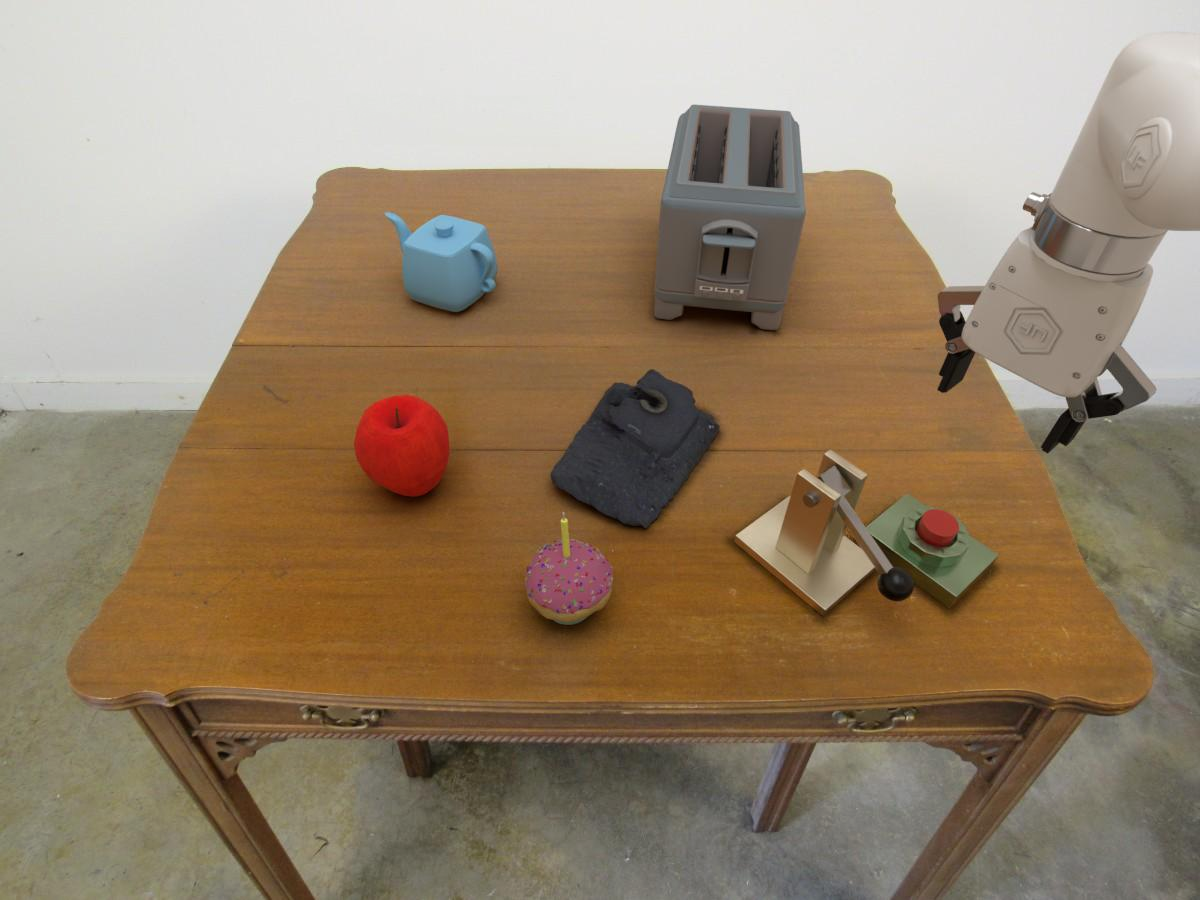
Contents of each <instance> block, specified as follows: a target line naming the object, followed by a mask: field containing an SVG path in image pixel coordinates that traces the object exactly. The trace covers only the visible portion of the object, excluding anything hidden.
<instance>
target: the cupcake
mask: <svg viewBox="0 0 1200 900" xmlns="http://www.w3.org/2000/svg"><path fill="white" fill-rule="evenodd" d="M561 514H562V515H561V516H562V518H561V519H560V530H561V531H560V532H561V539H556V540H554V541H551V542H550V543H549V542H547V543H545V545H543V546H541V548H540V549H537V551H536V553H535V554H534V556H533V557H532V559H530V562H529V564H528V566H526V571H525V573H526V574H525V577H524V587H525V591H526V595H527V599H528V602H529V603H530V605H531V606H532V607H533V608H534V609H535V610H536V611H537V612H538V613H539V614H540V615H541V616H542V617H543V618H545V619H548V620H552V621H554V622H555V623H557V624H560V625H565V626H570V625H571V626H573V625H576V624H579V623H581V622H583V621H584V620H585V619H588V617H589V616H590V615H593V614H594V613H595V612H598V611H600V610H603V608H604V607H605V606H606V605H607V604H608V601H609V600H610V598H611V594H612V592H613V580H614V577H613V566H612V565H611V563H610V562H609V560H608V559H607V558H606V556H605V555H604V554H603V553H602V552H601V551H600V549H599V548H598V547H595V546H593V545H591V544H589V543H588V542H584V541H581V540H578V539H573V538H571V539H570V535H569V534H570V533H569V520H568V519H567V518H566V515H565V512H564V511H562V512H561Z"/></svg>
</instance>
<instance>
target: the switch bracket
mask: <svg viewBox="0 0 1200 900" xmlns="http://www.w3.org/2000/svg"><path fill="white" fill-rule="evenodd" d="M832 466H835V467H836V468H837V470H838V471H839V473H840V474H841V475H842V477H843V478H844V480H845V481H846V483H847V484H848V486H849V487H850V488H851V491H849V492H848V493H847V494H846V495H844V497H845V498H846V500H847V501H848V503H849V504H850V505H851V507H852V508H853V510H854V511H855V508H856V506H857V503H858V501H859V498H860V496H861V493H862V490H863V488H864V486H865V483H866V481H867V478H868V476H869V474H867V473H866V472H865V471H863V470H862V469H860V468H859V467H857V466H856V465H855V464H853V463H851V462H850V461H848V460H847V459H846V458H844V457H842V456H841V455H840V454H838V453H837V452H835V451H834V450H833V449H831V448H830V449H829V450H826V452H825V453H823V456H822V459H821V463H820V465H819V468H818V472H817V474H819V473H820V472H822V471H824V470H826V469H828V468H830V467H832ZM815 476H816V475H814V474H812V472H810V471H808V469H805V468H802V469H801V470H800V471H798V472H797V474H796V477H795V479H794V484H793V487H792V490H791V493H790V495H788V496H786V497H785V498H784V499H783V500H781V501H780V502H778V503H777V504H776V505H774V506H773V507H771V508H770V509H769V510H768V511H767V512H765V513H764V514H762V515H761V516H760V517H758V518H757V519H755V520H754V521H753V522H751V523H750V524H748V526H746V527H745V528H744V529H741V531H739V532H738V533H737V534H735V536H734V540H733V542H734V544H736V545H737V546H738V547H739V548H741V550H743V551H744V552H745V553H746V554H747V555H749V556H750V557H752V559H754V560H755V561H756V562H757V563H758V564H760V565H761V566H762V567H763V568H764V569H766V570H767V571H768V572H769V573H770V574H771V575H772V576H774V577H775V578H776V579H777V580H779V581H780V582H781V583H782V584H783V585H785V586H786V587H787V588H788V589H789V590H791V592H793V593H794V594H795V595H796V596H798V597H799V598H800V600H802V601H803V602H805V603H806V604H807V605H808V606H809V607H811V608H812V609H813V610H814V611H815V612H817V613H818V615H820V616H822V617H825V616H826V615H827V614H828V613H829V612H830V611H831V610H832V609H834V608H835V607H836V606H837V605H838V604H839V603H840V602H842V601H843V600H844V599H845V598H846V597H847V596H848V595H849V594H851V593H852V592H853V591H854V590H855V589H856V588H857V587H858V586H860V585H861V584H862V583H863V582H864V581H865V580H867V578H869V577H870V576H871V575H872V574H873V573H874V572H875V571H877V570H876V568H875V567H874V565H873V564H872V563H871V561H870V560H869V558H868V557H867V555H866V554H865V552H864V551H863V549H862V548H861V547H860V545H858V544H856V543H855V542H853V541H852V540H851V539H850V538H848V537H847V536H845V533H846V532H847V530H848V528H847V526H846V525H845V523H844V522H843V520H842V519H841V518H840V516H839V515H838V513H837V512H836V508H837V506H838V503H839V500H840V498H841V495H840V494H839V493H838V492H836V491H835V490H833V489H832V488H831V487H829V486H828V485H826V484H825V483H824V482H822V481H821V480H819V479H818V478H817V477H815Z"/></svg>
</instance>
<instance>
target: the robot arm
mask: <svg viewBox="0 0 1200 900" xmlns="http://www.w3.org/2000/svg"><path fill="white" fill-rule="evenodd" d="M1022 210H1023V211H1025V212H1028V213H1030V215H1031V216H1033V217H1034V218H1033V221H1034V222H1033V224H1032V226H1030V227H1029V228H1026V229H1024V230H1022V231H1020V232H1019V233H1018V234H1017V236H1016V237H1015V239H1014V240H1013V241H1012V242H1011V243H1010V245H1009V246H1008V248H1007V249H1006V250H1005V252H1004V254H1003V256H1002V257H1001V259H1000V260H999V262H998V263H997V265H996V267H995V268H994V269H993V271H992V273H991V275H990V276H989V278H988V279H987V282H986V283H985V285H962V286H961V285H954V286H953V285H951V286H947V287H945V288H944V289H943V290H940V291H939V292H938V293H937V304H938V312H939V314H940V317H939V320H938V323H939V326H940V328H941V332H942V333H943V335H944V338H945V340H946V343H945V344H944V347H945V350H946V352H947V353H946V357H945V358H944V361H943V363H942V365H941V367H940V370H939V373H938V375H939V377H941V380H940V382H939V384H938V387H937V389H936V390H937V391H938V392H940V393H942V394H943V393H944V394H947V393H948V392H949V391H950V390H952V389H953V388H955V387H956V386H957V385H959V384H960V383H961V382H962V381H963V380H964V378H965V376H966V373H967V372H968V370H969V368H970V365H971V363H972V361H973V359H974V356H975V355H979V356H980V357H983V358H984V359H986V360H988V361H990V362H992V363H993V364H995V365H997V366H999V367H1001V368H1003V369H1004V370H1007V371H1008V372H1011V373H1013V374H1014V375H1016V376H1017V377H1020V378H1021V379H1024V380H1026V381H1027V382H1029V383H1032V384H1033V385H1035V386H1037V387H1039V388H1041V389H1043V390H1045V391H1047V392H1049V393H1052V394H1054V395H1056V396H1059V397H1063V398H1065V400H1066V404H1067V407H1068V408H1067V409H1066V410H1065V411H1063V412H1062V413H1061V414H1060V415H1059V416H1058V418H1057V420H1056V421H1055V423H1054V424H1053V427H1052V428H1051V430H1050V431H1049V433H1048V434H1047V436H1046V437H1045V439H1044V441H1043V442H1042V443H1041V446H1040V448H1041V451H1042V452H1044V453H1046V454H1050V452H1052V451H1053V450H1054V449H1055V448H1056V447H1057V446H1058V445H1059V444H1061V445H1063V446H1064V447H1067V446H1069V444H1071V443H1072V441H1073V440H1074V439H1075V438H1076V436H1077V435H1078V433H1079V432H1080V431H1081V429H1082V428H1083V426H1084V424H1085V422H1086V421H1087V420H1089V419H1090V420H1091V419H1097V418H1104V417H1105V418H1106V417H1113V416H1117V415H1119V414H1120V413H1122V412H1124V411H1127V410H1130V409H1132V408H1134V407H1137V406H1139V405H1141V404H1143V403H1146V402H1147V401H1149V400H1150V399H1151V398H1152V397H1153V396H1154V395H1155V394H1156V392H1157V387H1156V385H1155V384H1154V383H1153V382H1152V380H1151V379H1150V378H1149V376H1147V374H1146V373H1145V372H1144V371H1143V369H1142V368H1141V367H1140V366H1139V365H1138V363H1137V362H1136V361H1135V360H1134V359H1133V358H1132V356H1131V355H1130V354H1129V352H1128V351H1127V350H1126V349H1125V347H1123V346H1122V345H1123V343H1125V342H1124V341H1125V340H1126V338H1127V336H1128V334H1129V332H1130V330H1131V328H1132V326H1133V325H1134V322H1135V320H1136V318H1137V315H1138V314H1139V311H1140V310H1141V307H1142V305H1143V302H1144V300H1145V297H1146V295H1147V293H1148V289H1149V286H1150V284H1151V282H1152V278H1153V274H1154V268H1153V266H1152V264H1150V263H1149V262H1150V260H1151V259H1152V257H1153V255H1154V254H1155V252H1156V251H1157V249H1158V247H1159V246H1160V244H1161V242H1162V241H1163V239H1164V237H1165V236H1166V234H1167V233H1168V231H1171V232H1172V231H1173V232H1200V33H1196V32H1188V31H1187V32H1186V31H1159V32H1152V33H1148V34H1144V35H1141V36H1139V37H1137V38H1135V39H1133V40H1132V41H1130V42H1129V43H1128V44H1126V45H1125V46H1124V47H1123V48H1122V49H1121V50H1120V52H1119V54H1117V56H1116V58H1115V59H1114V61H1113V62H1112V64H1111V67H1110V68H1109V71H1108V72H1107V74H1106V77H1105V78H1104V81H1103V83H1102V85H1101V87H1100V90H1099V92H1098V94H1097V96H1096V98H1095V100H1094V102H1093V104H1092V107H1091V108H1090V111H1089V113H1088V115H1087V117H1086V119H1085V122H1084V123H1083V125H1082V127H1081V130H1080V132H1079V134H1078V136H1077V138H1076V140H1075V143H1074V145H1073V147H1072V149H1071V151H1070V153H1069V156H1068V157H1067V159H1066V162H1065V164H1064V166H1063V168H1062V170H1061V172H1060V174H1059V177H1058V179H1057V181H1056V183H1055V185H1054V187H1053V189H1052V192H1051V193H1049V194H1045V193H1042V194H1041V193H1037V192H1034V191H1032V192H1031V193H1030V194H1029V195H1028V196H1027V198H1026V199H1025V201H1024V202H1023V205H1022ZM961 306H972V309H971V311H970V313H968V314H969V315H968V316H967V318H966V319H965V317H964V315H963V312H962V311H961V310H960V309H961ZM1106 371H1108V372H1109V373H1110V375H1111V376H1112V377H1113V378H1114V379H1115V381H1116V382H1117V383H1118V384H1119V385H1120V387H1121V389H1122V390H1121V391H1118V392H1111V393H1106V394H1105V393H1104V394H1102V391H1101V386H1100V384H1099V380H1098V377H1101V376H1102V375H1103V374H1104V373H1105V372H1106Z"/></svg>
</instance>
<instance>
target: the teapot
mask: <svg viewBox="0 0 1200 900" xmlns="http://www.w3.org/2000/svg"><path fill="white" fill-rule="evenodd" d="M384 215H385V217H386V218H387V219H388V220H389V221H390V222H391V223H392V224H393V226H394V228H395V230H396V234H397V237H398V242H399V246H400V250H401V253H402V260H401V261H402V262H401V271H402V273H401V275H402V284H403V288H404V291H405V292H406V294H407V295H408V297H409V298H410V299H411V300H412V301H415V302H418V303H421V304H423V305H427V306H430V307H433V308H436V309H440V310H443V311H446V312H447V311H448V312H451V313H452V312H453V313H459V312H461V311H464V310H466V309H467V308H469V307H470V306H472V304H474V303H476V302H477V301H478V300H479V299H481V297H483V296H484V295H485V294H486V293H491V292H494V291H495V289H496V287H497V286H496V285H497V284H496V281H495V280H496V277H497V273H498V261H497V256H496V251H495V247H494V245H493V243H492V239H491V238H490V234H489V232H488V230H487V227H486V226H485V225H483V224H481V223H478V222H475V221H471V220H467V219H464V218H460V217H456V216H451V215H446V214H440V215H437V216H435V217H433V218H432V219H430V220H428V221H427V222H425V223H424V224H422V225H421V226H419V227H418V228H417V229H416V230H415V231H414V232H411V230H410V229H409V227H408V225H407V224H406V222H405V221H404V220H403V218H402V217H400V215H398V214H396V213H393V212H389V211H387V212H384Z"/></svg>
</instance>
